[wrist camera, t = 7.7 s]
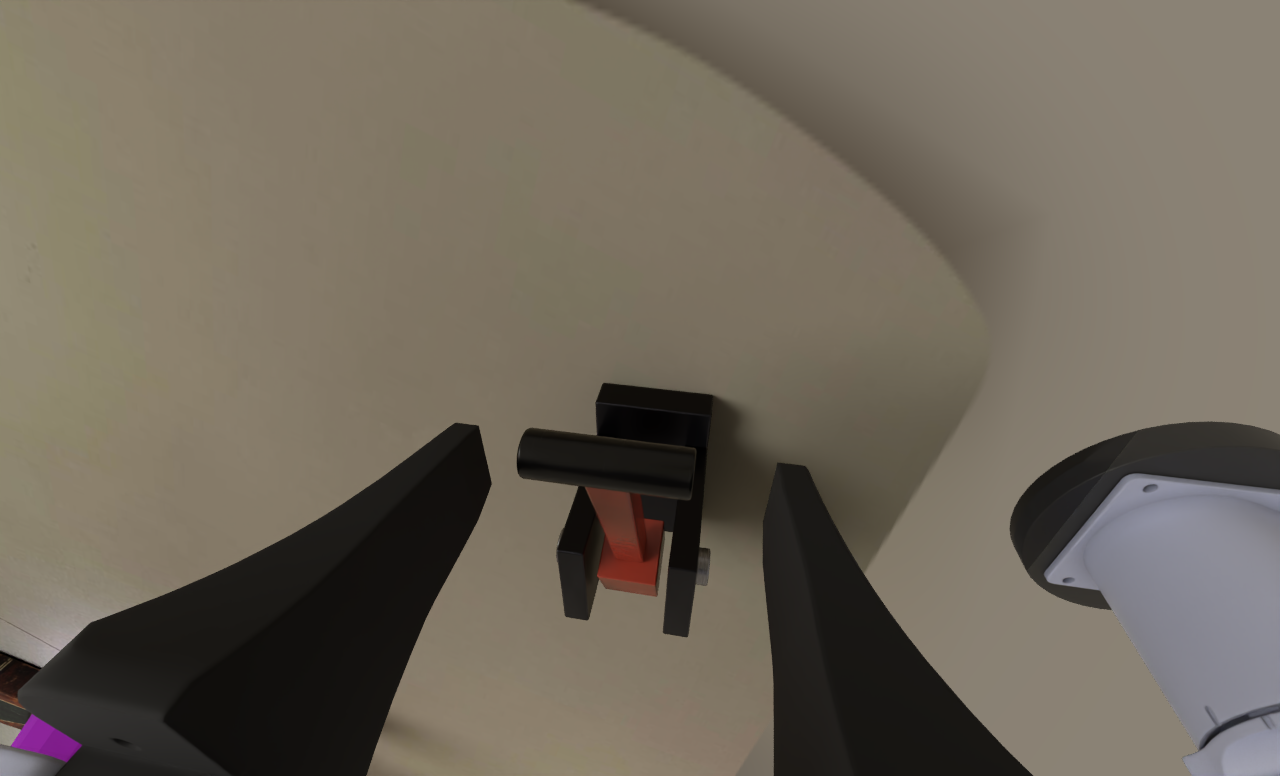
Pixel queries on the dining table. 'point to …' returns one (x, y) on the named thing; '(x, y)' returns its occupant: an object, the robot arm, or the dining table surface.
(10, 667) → the book
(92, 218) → the dining table surface
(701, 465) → the bracket
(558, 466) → the lever
